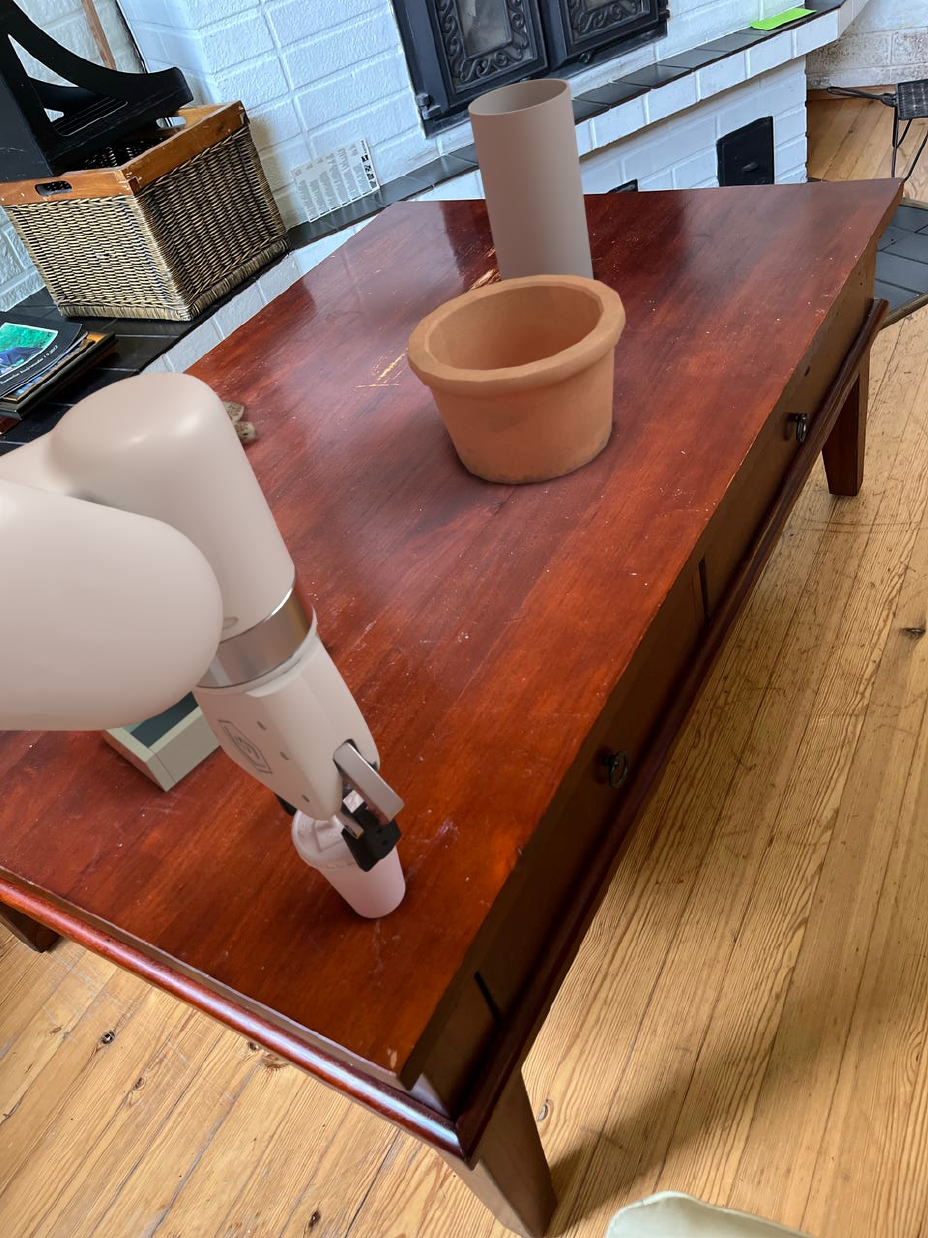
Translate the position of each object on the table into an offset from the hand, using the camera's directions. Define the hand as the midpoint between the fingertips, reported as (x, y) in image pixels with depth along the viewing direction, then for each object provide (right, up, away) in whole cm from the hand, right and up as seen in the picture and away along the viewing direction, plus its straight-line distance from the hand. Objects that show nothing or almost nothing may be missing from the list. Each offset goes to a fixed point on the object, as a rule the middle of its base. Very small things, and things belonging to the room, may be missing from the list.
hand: (342, 823), depth 57 cm
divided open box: (-14, +5, +24) cm, 28 cm away
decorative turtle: (-25, +34, +59) cm, 73 cm away
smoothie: (+2, -7, +6) cm, 9 cm away
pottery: (+16, +32, +43) cm, 56 cm away
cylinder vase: (+20, +58, +70) cm, 93 cm away
